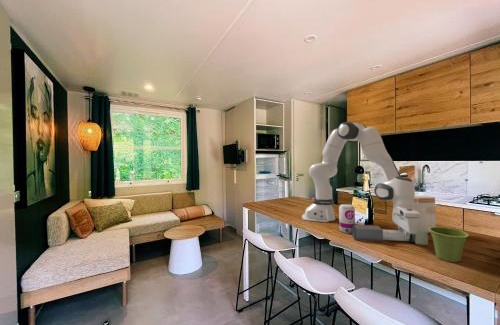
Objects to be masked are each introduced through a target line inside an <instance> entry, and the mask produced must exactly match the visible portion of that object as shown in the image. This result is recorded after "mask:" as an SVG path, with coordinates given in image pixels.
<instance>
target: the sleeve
mask: <svg viewBox="0 0 500 325" xmlns="http://www.w3.org/2000/svg"><path fill="white" fill-rule="evenodd" d="M382 229H383V228H381V227H380V226H379V225H367V224H366V225H365V224H364V225H363V224H355V225H352V233H351V237H352V238H353V240H354V241H362V242H364V241H365V242H380V243H381V242H384V240H383V230H384V229H383V230H382Z"/></svg>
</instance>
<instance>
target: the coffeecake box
mask: <svg viewBox="0 0 500 325" xmlns="http://www.w3.org/2000/svg"><path fill="white" fill-rule="evenodd" d="M414 203H415V208H416V209H417V211H418V212H419V213H420V217H418V219H419V226H420V227H421V228H423V229H425V230H426V231H428V234H429V233H430V234H431V231H430V230H429V228H430V227H437V224H436V220H437V219H436V197H435V196H430V195H427V194H426V195H415V197H414ZM403 230H404V229H403Z"/></svg>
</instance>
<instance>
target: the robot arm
mask: <svg viewBox="0 0 500 325" xmlns="http://www.w3.org/2000/svg"><path fill="white" fill-rule="evenodd" d="M348 141H349V142H351V141H352V142H358V143H359V144H360V147H361V151H362V154H363V156H364V158H365V159H366V160H368V161H369V162H372V163H374V164H376V165H378V166H380V168H382V169H383V172H384V174H385V177H386V178H387V181H383V182H379V183H377V184H376V185H375V186H374V189H373V190H374V195H375V197H376V198H377V199H379V200H381V201H392V209H393V210H392V212H391V215H392V216H391V217H392V219H391V220H392V222H393V223H394V224H395V225H396V226H397V228H398V229H397V230H403V229H404V230H405V235H404V238H405V239H410V234H418V233H419V219H418V217H420V213H419V212H418V211H417V209H416V208H415V203H414V197H415V196H416V194H415V193H416V191H415V183H414V181H413V179H411V178H409V177H405V176H401V174H400V172H399V171H398V167H397V166H396V164H395V162H394V160H393V158H392V157H391V155H390V154H389V153H388V151H387V149H386V146H385V144H384V141H383V138H382V136H381V134H380V133H379V130H378V129H377V128H375V127H372V126H369V127H367V125H365V124H361V123H359V122H351V121H346V122H345V121H344V122H342V123H340V124H339V126H338V127H337V128H335V129H333V130H332V131H331V133H330V134H329V136H328V138H327V141H326V143H325V145H324V146H323V147H324V148H323V150H322V153H321V155H322V161H321V162H319V163H315V164H312V165H311V166H310V167H309V169H308V175H309V176H310V178H312V181H313V184H314V188H315V197H312V198H311V200H312V203H311V204H309V206H307V207H306V208H305V211H304V213H303V214H302V215H301V219H302V220H303V221H310V222H321V223H329V222H333V221H335V220H336V216H335V212H334V198H333V187H332V185H331V184H330V180H329V179H331V178H333V177H334V176H336V175H337V173H338V161H339V159H340V156H341V154H342V151H343V149H344V146H345V144H346V143H347V142H348Z"/></svg>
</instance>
